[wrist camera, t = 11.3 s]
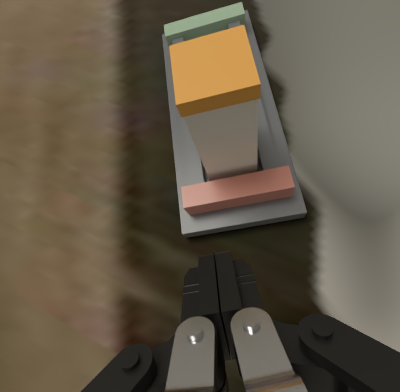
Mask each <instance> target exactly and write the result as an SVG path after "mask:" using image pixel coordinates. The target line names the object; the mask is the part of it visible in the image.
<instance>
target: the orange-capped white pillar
mask: <svg viewBox="0 0 400 392" xmlns="http://www.w3.org/2000/svg"><path fill="white" fill-rule="evenodd" d="M169 49H170V58H171V67H172V75H173V84H174V93H175V102H176V107H177V109H178V111H179V114H180V116H181V117H184V120H185V122H186V125H187V127H188V129H189V132H190V134H191V137H192V139H193V141H194V144H195V146H196V149H197V151H198V154H199V156H200V158H201V161H202V163H203V166H204V168H205V170H206V173H207V175H208V178H209V180H210V181H213V180H218V179H223V178H228V177H233V176H238V175H243V174H248V173H253V172H257V151H258V99H260V94H261V83H260V80H259V76H258V72H257V69H256V65H255V62H254V58H253V55H252V51H251V47H250V44H249V40H248V37H247V33H246V29H245V26H244V25H241V26H237V27H233V28H230V29H226V30H223V31H219V32H216V33H212V34H209V35H205V36H202V37H198V38H195V39H191V40H188V41H184V42H181V43H177V44H174V45H170V46H169Z"/></svg>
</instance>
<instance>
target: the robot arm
mask: <svg viewBox="0 0 400 392" xmlns="http://www.w3.org/2000/svg"><path fill="white" fill-rule="evenodd" d="M215 258H216V259H215ZM229 347H230V350H229ZM230 351H231V355H232V359H236V361H237V365H238V370H239V374H240V376H241V378H242V380H243V383H244V388H245V392H400V352H397V351H396V350H394V349H392V348H390V347H388V346H386V345H384V344H382V343H380V342H379V341H377V340H375V339H373V338H371V337H369V336H367V335H365V334H363V333H361V332H359V331H358V330H356V329H354V328H352V327H350V326H348V325H346V324H344V323H342V322H340V321H338V320H337V319H335V318H333V317H330V316H328V315H324V314H311V315H308V316H306V317H304V318H303V319H302V320H301V321H300V323H299V325H292V324H285V323H281V322H278V321H276V320H274V319H272V318H271V317H270V316H269V315H268V314H267V313H266V312H265V310H264V307H263V304H262V301H261V298H260V294H259V291H258V288H257V285H256V282H255V278H254V275H253V272H252V269H251V265H250V264H249V263H247V262H246V261H245V260H244V259H241V260H236V261H232V257H231V252H230V250H229V251H223V252H218V253H215V255H214V253H212V254H207V255H201V256H199V267H197V268H191V269H189V270H188V272H187V274H186V275H185V277H184V288H183V301H182V314H181V324H180V326H179V327H178V328H177V330H176V333H175V335H174V336H173V337H172V338H171V339H170V340H169V341H167V342H165V343H164V344H162V345H160V346H157V347H155V348H153V349H150V348H149V347H148V346H147V345H145V344H133V345H130V346H128V347H126V348H125V349H123V350H122V351H121V352H120V353H119V354H118V355H117V356H116V357H115V358H114V359H113V360H112V361H111V362H110V363H109V364H108V365H107V366H106V367H105V368H104V369H103V370H102V371H101V372H100V373H99V374H98V375H97V376H96V377H95V378H94V379H93V380H92V381H91V382H90V383H89V384H88V385H87V386H86V387H85V388H84V389H83V390H82V391H81V392H229V386H228V379H227V375H226V371H225V361H226V360H231V358H230Z"/></svg>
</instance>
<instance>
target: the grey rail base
mask: <svg viewBox="0 0 400 392" xmlns="http://www.w3.org/2000/svg"><path fill="white" fill-rule="evenodd" d="M241 25H244V26H245V29H246V33H247V37H248V40H249V44H250V47H251V51H252V55H253V58H254V62H255V65H256V69H257V72H258V76H259V80H260V83H261V94H260V99H258V151H257V172H253V173H248V174H243V175H238V176H233V177H228V178H223V179H218V180H213V181H210V180H209V178H208V175H207V173H206V170H205V168H204V166H203V163H202V161H201V158H200V156H199V154H198V151H197V149H196V146H195V144H194V141H193V139H192V137H191V134H190V132H189V129H188V127H187V125H186V122H185V120H184V117H181V116H180V114H179V111H178V109H177V107H176V102H175V93H174V84H173V75H172V67H171V58H170V49H169V46H170V45H174V44H177V43H181V42H184V41H188V40H191V39H195V38H198V37H202V36H205V35H209V34H212V33H216V32H219V31H223V30H226V29H230V28H233V27H237V26H241ZM164 31H165V34H163V35H162V38H163V48H164V58H165V69H166V79H167V89H168V99H169V109H170V119H171V129H172V139H173V149H174V159H175V169H176V179H177V189H178V199H179V209H180V219H181V229H182V235H184V236H185V237H186V238H188V237H194V236H200V235H206V234H212V233H217V232H223V231H229V230H235V229H241V228H247V227H253V226H258V225H264V224H270V223H276V222H282V221H288V220H294V219H299V218H304V217H305V215H306V214H307V210H306V207H305V204H304V200H303V197H302V193H301V190H300V187H299V183H298V180H297V177H296V173H295V170H294V166H293V163H292V160H291V156H290V153H289V149H288V146H287V143H286V139H285V136H284V133H283V129H282V126H281V122H280V119H279V116H278V112H277V109H276V106H275V102H274V99H273V95H272V92H271V89H270V85H269V82H268V78H267V75H266V72H265V68H264V65H263V62H262V58H261V55H260V51H259V48H258V45H257V41H256V38H255V34H254V31H253V28H252V24H251V21H250V18H249V14H248V11H247V10H245V11H244V8H243V5H242V2H240V3H237V4H233V5H230V6H226V7H223V8H220V9H216V10H213V11H210V12H206V13H203V14H199V15H196V16H193V17H189V18H186V19H183V20H179V21H176V22H172V23H169V24H166V25H164Z"/></svg>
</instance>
